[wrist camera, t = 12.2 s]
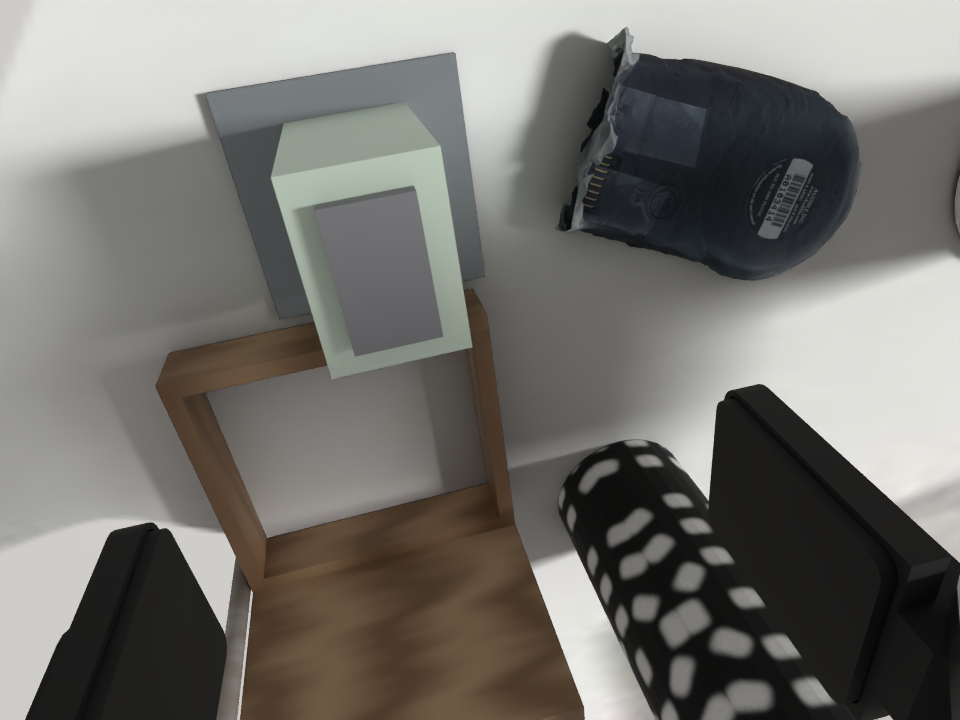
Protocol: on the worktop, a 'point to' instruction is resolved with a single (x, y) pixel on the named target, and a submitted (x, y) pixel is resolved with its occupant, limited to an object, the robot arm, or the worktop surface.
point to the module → (372, 237)
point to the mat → (266, 107)
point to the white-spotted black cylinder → (682, 595)
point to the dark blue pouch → (713, 165)
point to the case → (374, 574)
